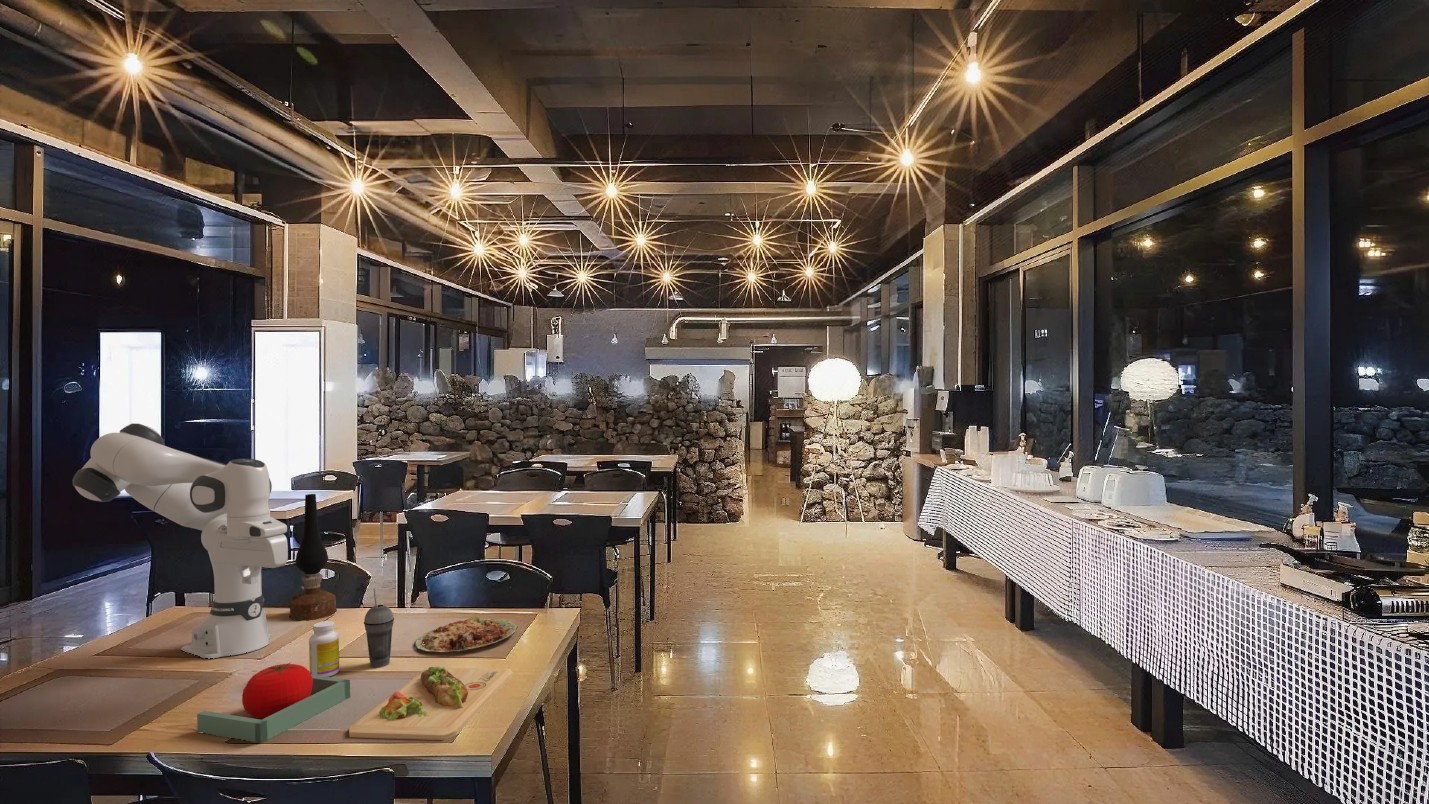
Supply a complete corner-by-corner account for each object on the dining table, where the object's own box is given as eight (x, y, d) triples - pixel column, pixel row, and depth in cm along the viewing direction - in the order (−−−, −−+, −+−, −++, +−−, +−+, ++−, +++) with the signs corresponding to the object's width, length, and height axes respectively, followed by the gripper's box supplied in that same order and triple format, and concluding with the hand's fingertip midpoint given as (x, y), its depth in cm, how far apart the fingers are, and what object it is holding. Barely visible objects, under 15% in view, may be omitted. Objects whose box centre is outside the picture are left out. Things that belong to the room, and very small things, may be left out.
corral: (197, 732, 149) (197, 713, 149) (292, 688, 171) (292, 672, 171) (260, 743, 144) (260, 723, 144) (350, 696, 166) (349, 679, 166)
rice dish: (393, 654, 197) (391, 635, 197) (460, 620, 223) (460, 603, 223) (475, 666, 187) (474, 646, 187) (536, 629, 213) (535, 611, 213)
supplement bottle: (345, 670, 182) (344, 620, 182) (323, 680, 176) (322, 629, 176) (325, 667, 184) (324, 618, 184) (303, 677, 178) (302, 626, 178)
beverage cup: (383, 670, 182) (381, 592, 181) (358, 668, 183) (356, 591, 183) (401, 660, 189) (399, 585, 189) (377, 658, 190) (375, 584, 190)
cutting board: (451, 743, 144) (450, 706, 144) (342, 740, 146) (341, 704, 146) (516, 675, 179) (515, 645, 178) (427, 673, 181) (427, 644, 181)
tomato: (282, 729, 150) (281, 680, 150) (227, 726, 152) (226, 678, 151) (327, 700, 164) (326, 655, 164) (276, 698, 166) (275, 654, 166)
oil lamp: (344, 620, 235) (370, 500, 239) (303, 626, 221) (332, 499, 225) (314, 611, 240) (340, 494, 244) (273, 616, 226) (301, 492, 230)
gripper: (204, 526, 171) (205, 583, 171) (269, 530, 165) (270, 590, 165) (229, 522, 177) (230, 577, 177) (292, 525, 171) (293, 583, 171)
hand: (249, 583), depth 171 cm, fingers closed
